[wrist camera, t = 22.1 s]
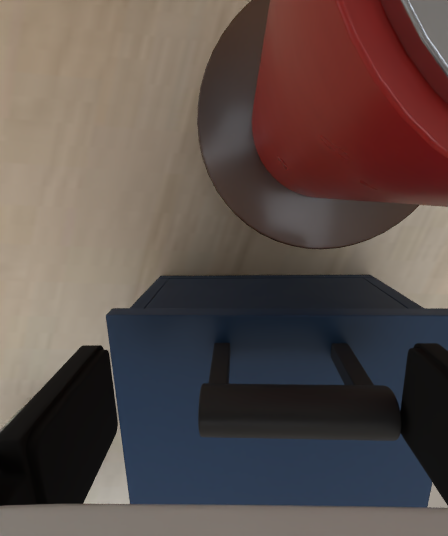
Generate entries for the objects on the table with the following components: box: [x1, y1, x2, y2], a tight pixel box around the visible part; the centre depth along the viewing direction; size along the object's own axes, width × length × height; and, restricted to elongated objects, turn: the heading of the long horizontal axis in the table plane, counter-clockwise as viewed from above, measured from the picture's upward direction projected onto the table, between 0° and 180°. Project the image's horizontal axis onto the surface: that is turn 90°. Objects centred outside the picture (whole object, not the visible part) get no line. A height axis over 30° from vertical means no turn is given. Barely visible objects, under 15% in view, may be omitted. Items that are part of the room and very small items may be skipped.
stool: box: [197, 0, 419, 249], centre depth 18 cm, size 11×11×8 cm
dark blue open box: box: [130, 275, 424, 309], centre depth 21 cm, size 13×15×8 cm
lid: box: [106, 308, 448, 508], centre depth 14 cm, size 13×15×5 cm
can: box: [252, 0, 448, 207], centre depth 8 cm, size 6×6×12 cm
